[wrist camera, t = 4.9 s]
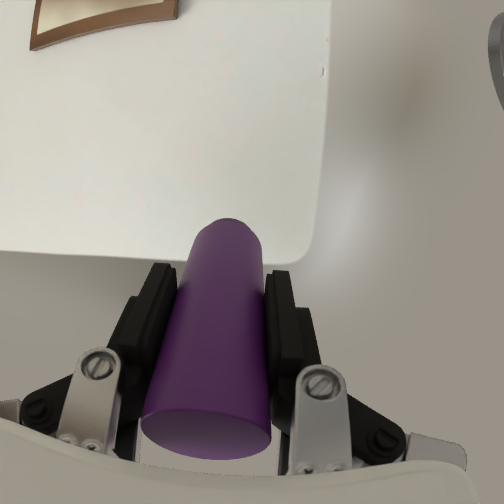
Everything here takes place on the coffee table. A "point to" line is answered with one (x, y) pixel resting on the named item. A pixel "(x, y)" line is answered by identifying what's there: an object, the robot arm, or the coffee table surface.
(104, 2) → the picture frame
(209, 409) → the marker
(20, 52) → the coffee table surface
